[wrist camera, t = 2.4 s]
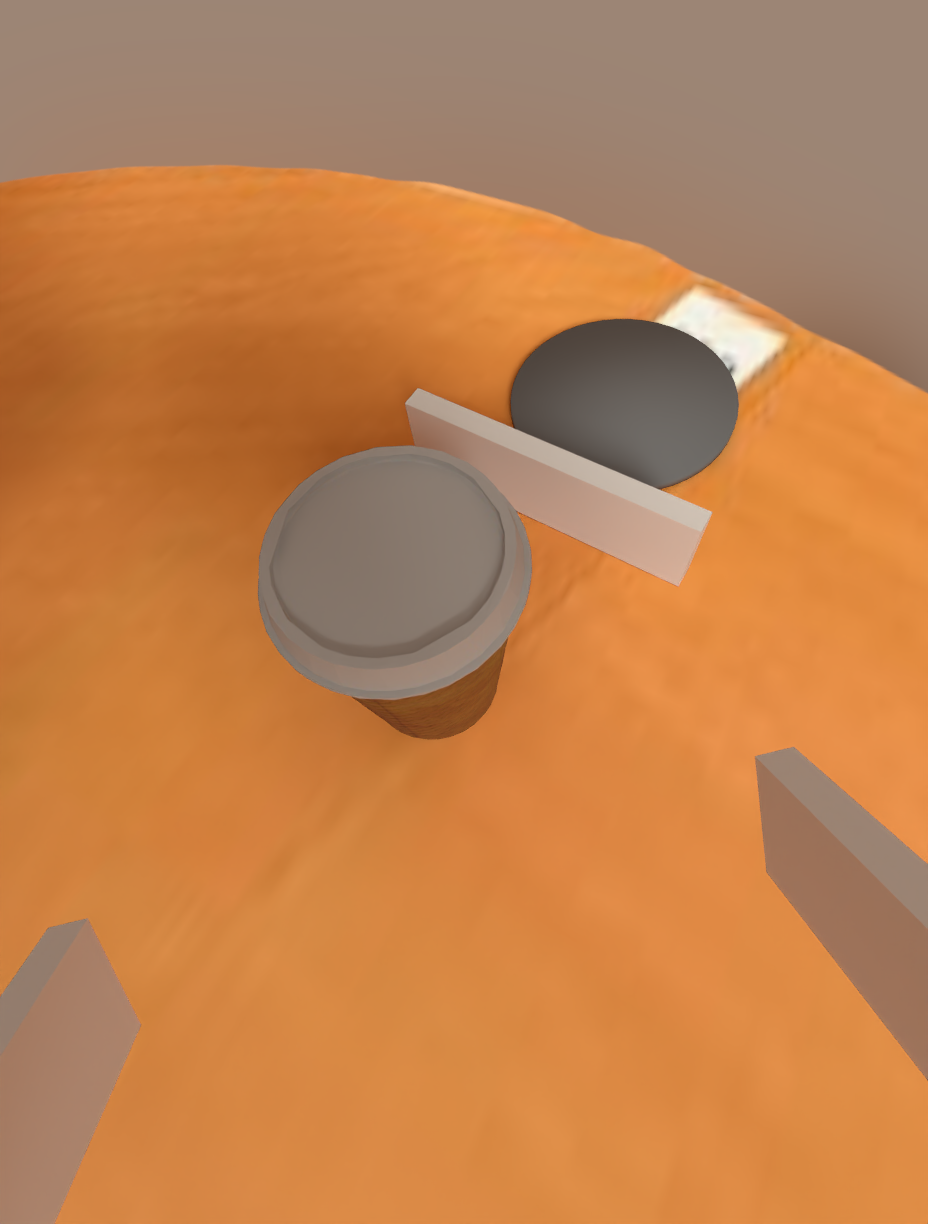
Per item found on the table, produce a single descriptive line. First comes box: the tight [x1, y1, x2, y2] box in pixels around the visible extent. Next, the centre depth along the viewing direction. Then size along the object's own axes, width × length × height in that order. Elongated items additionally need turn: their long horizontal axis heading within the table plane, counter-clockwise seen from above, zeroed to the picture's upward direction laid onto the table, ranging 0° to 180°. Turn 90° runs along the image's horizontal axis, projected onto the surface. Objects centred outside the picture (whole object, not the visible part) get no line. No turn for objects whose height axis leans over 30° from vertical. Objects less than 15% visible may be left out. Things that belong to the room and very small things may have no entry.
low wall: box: [405, 388, 712, 586], centre depth 34 cm, size 16×1×5 cm, turn 57°
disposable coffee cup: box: [258, 445, 532, 739], centre depth 27 cm, size 10×10×12 cm
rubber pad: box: [511, 319, 739, 489], centre depth 39 cm, size 13×13×1 cm
